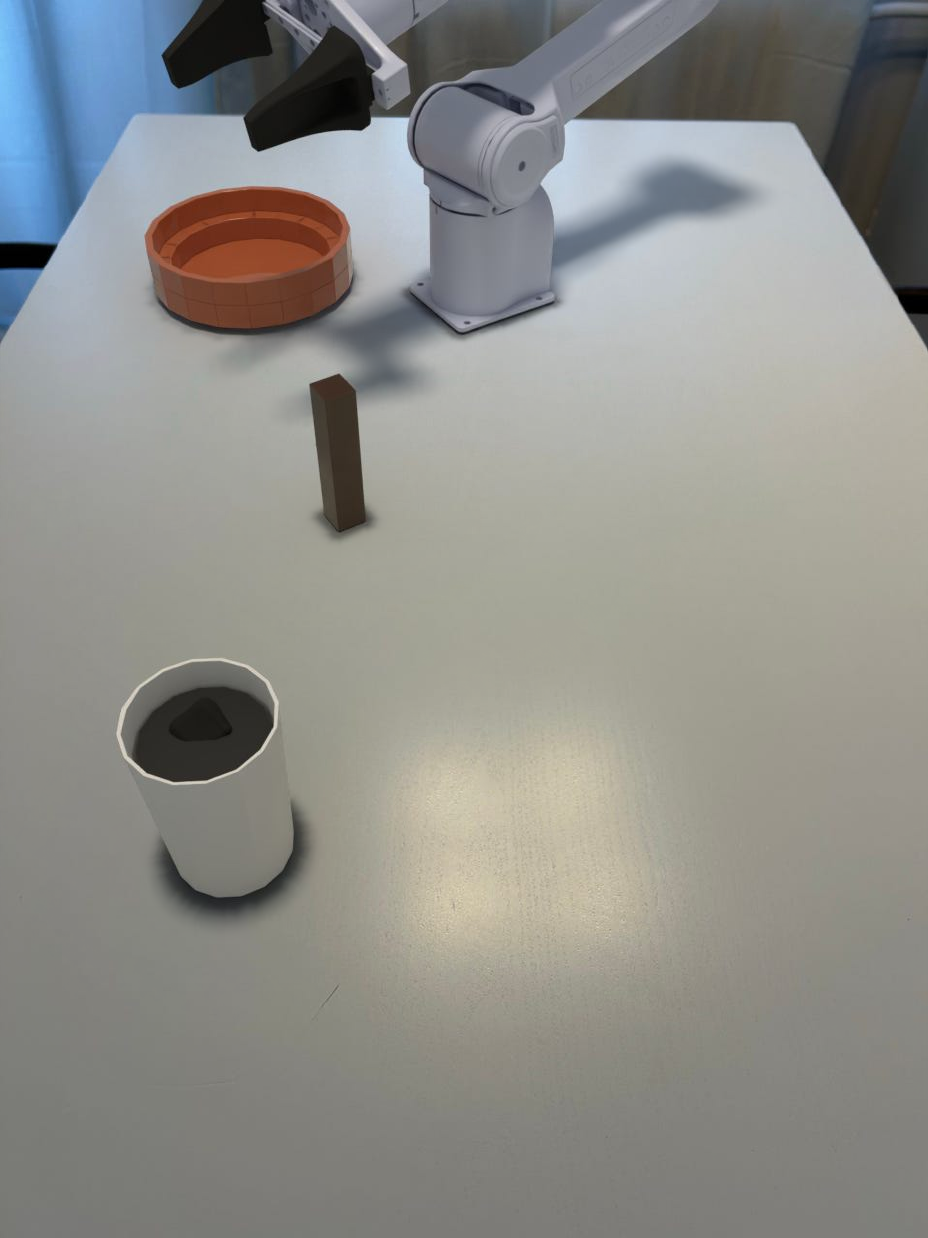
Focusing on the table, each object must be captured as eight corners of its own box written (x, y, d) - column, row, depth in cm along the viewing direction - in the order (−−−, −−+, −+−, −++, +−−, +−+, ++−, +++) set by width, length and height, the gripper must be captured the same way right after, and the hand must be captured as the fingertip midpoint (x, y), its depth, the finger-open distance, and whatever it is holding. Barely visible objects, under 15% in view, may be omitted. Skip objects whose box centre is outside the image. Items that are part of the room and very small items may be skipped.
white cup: (141, 831, 50) (89, 705, 43) (260, 764, 53) (231, 634, 46) (205, 933, 47) (161, 815, 40) (329, 855, 50) (309, 731, 42)
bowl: (298, 219, 94) (292, 170, 91) (388, 298, 85) (385, 246, 82) (127, 266, 88) (115, 215, 84) (205, 357, 79) (194, 303, 75)
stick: (351, 503, 67) (339, 372, 60) (366, 521, 66) (356, 389, 59) (323, 514, 67) (308, 383, 59) (338, 532, 65) (325, 400, 58)
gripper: (292, -134, 62) (111, -20, 59) (460, -27, 57) (273, 104, 54) (314, -21, 68) (152, 88, 65) (466, 84, 64) (300, 207, 60)
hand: (209, 102), depth 60 cm, fingers open, 7 cm apart
